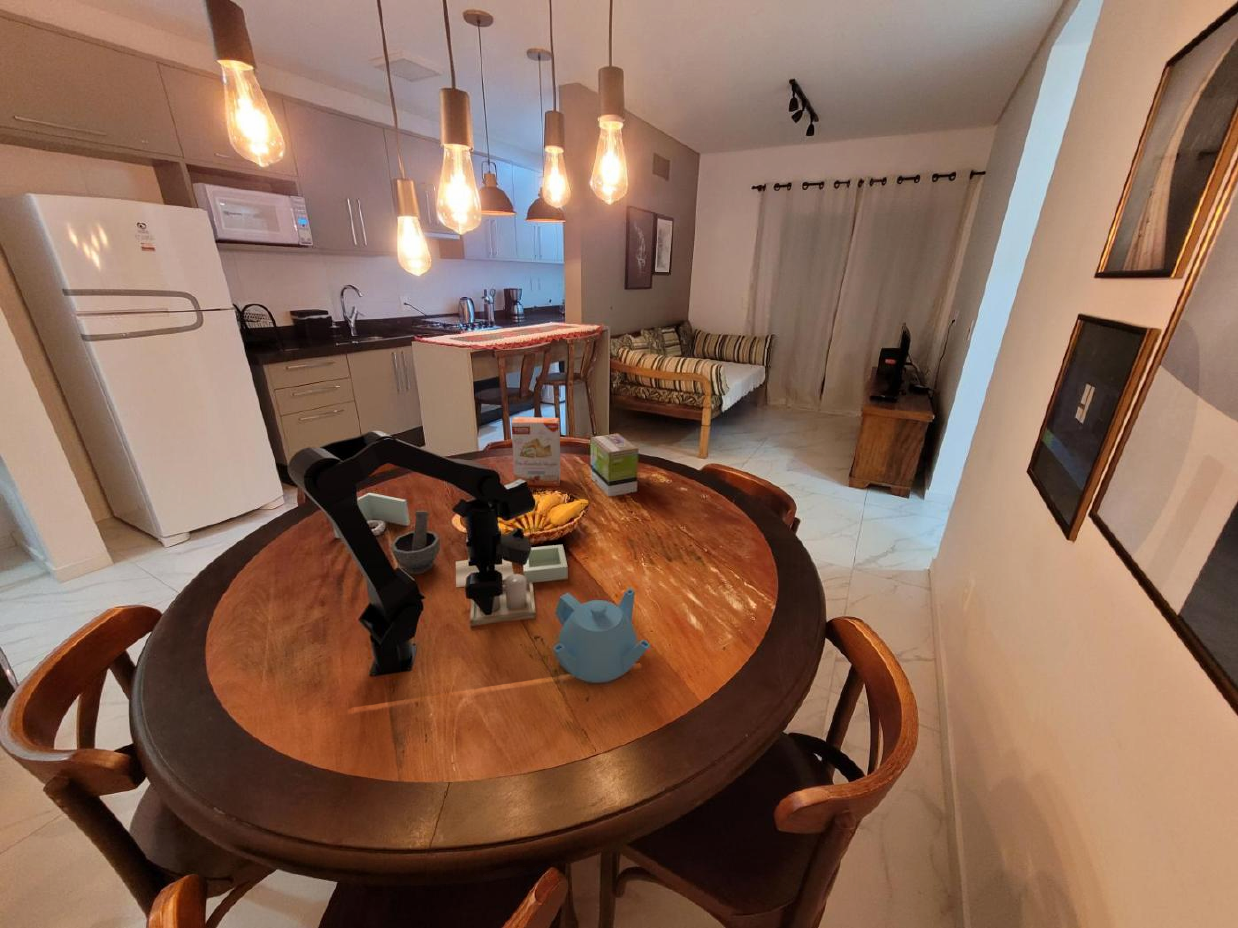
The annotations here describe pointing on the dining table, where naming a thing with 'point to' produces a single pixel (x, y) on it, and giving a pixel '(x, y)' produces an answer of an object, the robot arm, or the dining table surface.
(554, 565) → the sage bin
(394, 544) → the mortar and pestle
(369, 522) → the right angle wall
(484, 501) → the robot arm
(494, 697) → the dining table surface
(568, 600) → the teapot
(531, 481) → the cracker box
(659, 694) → the dining table surface
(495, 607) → the grey rounded piece
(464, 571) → the tray lid
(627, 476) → the tea box
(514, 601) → the pale pebble
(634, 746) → the dining table surface
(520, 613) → the birch tray
